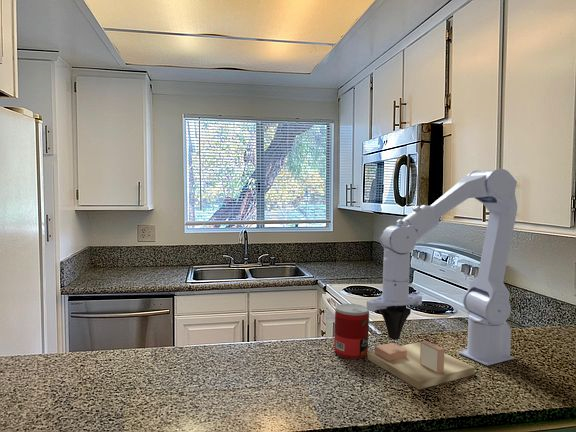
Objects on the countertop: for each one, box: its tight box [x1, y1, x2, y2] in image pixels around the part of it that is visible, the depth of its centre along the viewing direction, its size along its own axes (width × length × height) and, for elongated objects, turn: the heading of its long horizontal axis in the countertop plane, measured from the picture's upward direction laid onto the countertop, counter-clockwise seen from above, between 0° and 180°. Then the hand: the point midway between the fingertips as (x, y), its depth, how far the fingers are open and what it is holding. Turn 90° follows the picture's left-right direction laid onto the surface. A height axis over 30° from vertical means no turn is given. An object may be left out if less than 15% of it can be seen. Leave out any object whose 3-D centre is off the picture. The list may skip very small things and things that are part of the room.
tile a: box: [374, 342, 407, 361], centre depth 93 cm, size 2×5×5 cm
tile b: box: [420, 340, 445, 374], centre depth 86 cm, size 2×5×5 cm, turn 27°
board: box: [367, 341, 476, 391], centre depth 91 cm, size 16×16×2 cm
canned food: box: [333, 303, 370, 360], centre depth 98 cm, size 8×8×11 cm
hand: (393, 338), depth 93 cm, fingers closed
